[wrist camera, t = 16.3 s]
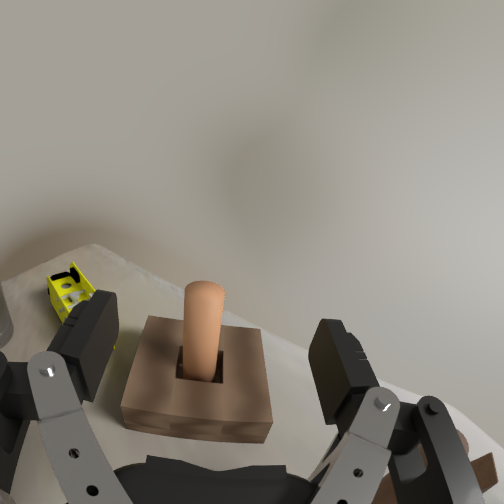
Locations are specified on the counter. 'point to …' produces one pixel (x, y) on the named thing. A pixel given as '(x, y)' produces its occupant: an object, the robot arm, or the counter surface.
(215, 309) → the pin
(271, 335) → the counter surface
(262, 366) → the socket block
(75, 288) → the yellow toy chassis
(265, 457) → the counter surface
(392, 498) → the wooden block
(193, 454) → the counter surface
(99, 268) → the counter surface
